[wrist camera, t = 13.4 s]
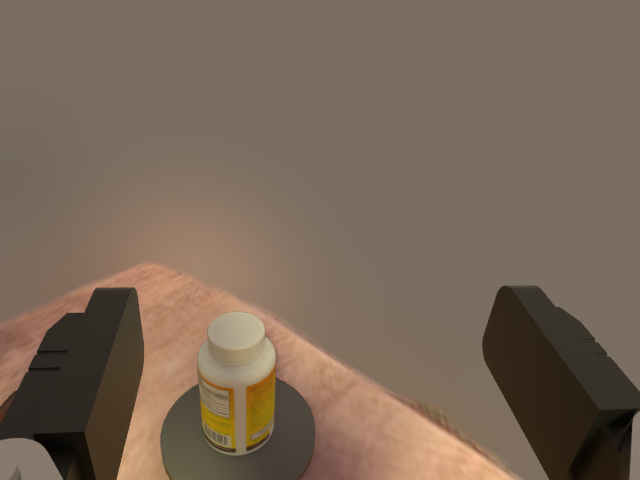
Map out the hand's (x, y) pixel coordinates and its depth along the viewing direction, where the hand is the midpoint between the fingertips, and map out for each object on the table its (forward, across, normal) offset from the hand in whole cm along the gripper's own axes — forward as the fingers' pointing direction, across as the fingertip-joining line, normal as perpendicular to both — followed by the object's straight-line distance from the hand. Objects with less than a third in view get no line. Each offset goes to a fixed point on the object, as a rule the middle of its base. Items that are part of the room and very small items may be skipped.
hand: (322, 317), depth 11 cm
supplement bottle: (+18, +2, +27) cm, 33 cm away
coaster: (+18, +2, +28) cm, 33 cm away
